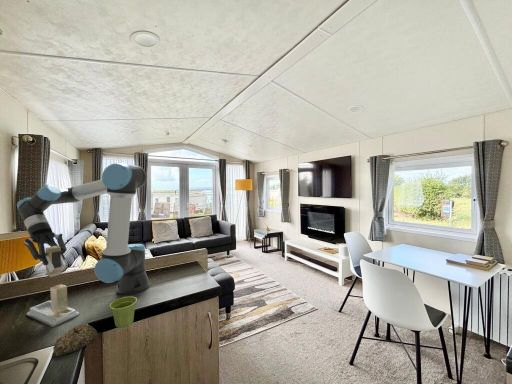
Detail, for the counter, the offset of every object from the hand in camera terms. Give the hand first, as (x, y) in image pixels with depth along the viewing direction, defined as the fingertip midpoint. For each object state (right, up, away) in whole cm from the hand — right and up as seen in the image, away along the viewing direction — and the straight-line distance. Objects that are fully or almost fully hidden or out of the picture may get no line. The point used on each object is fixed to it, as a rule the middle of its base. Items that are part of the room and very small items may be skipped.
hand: (58, 268), depth 98 cm
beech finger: (-4, -3, +2) cm, 5 cm away
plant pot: (+34, -19, -9) cm, 40 cm away
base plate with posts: (0, -19, -3) cm, 19 cm away
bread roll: (+23, -20, -18) cm, 35 cm away
